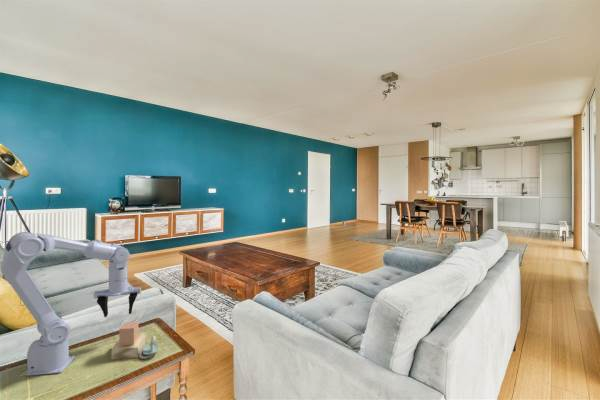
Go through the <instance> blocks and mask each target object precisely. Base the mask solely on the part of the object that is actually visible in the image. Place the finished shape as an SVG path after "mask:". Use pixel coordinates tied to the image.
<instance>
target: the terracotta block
mask: <svg viewBox="0 0 600 400" xmlns="http://www.w3.org/2000/svg"><path fill="white" fill-rule="evenodd" d="M118 331H119V332H118V333H119V338H118V340H119V346H126V345H134V344H135V342H136V341H137V339H138V338H139V336H138V335H139V321H128V322H123V324H122V325H121V326H120V327H119V330H118Z"/></svg>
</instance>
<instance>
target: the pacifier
mask: <svg viewBox="0 0 600 400" xmlns="http://www.w3.org/2000/svg"><path fill="white" fill-rule="evenodd" d="M158 349H159V343H158V342H157V337H156V336H155V335H152V336H151V338H150V342H148V343H147V344H145V345H144V347H143V349H142V351H141V352H140V353H139V356H138V357H139V358H140V359H141V360H147V359H149V358H150V357H153V356H155V354H157V353H159V350H158ZM144 355H145V356H144Z"/></svg>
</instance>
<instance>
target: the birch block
mask: <svg viewBox="0 0 600 400" xmlns="http://www.w3.org/2000/svg"><path fill="white" fill-rule="evenodd" d="M138 336H139V338H138V339H137V341H136V342H135V344H134V345H126V346H119V339H118V340H117V341H116V343H115V344H114V346H113V347H112V348H111V360H120V359H133V358H138V357H139V353H140V352H141V351H142V350H143V349H144V347H145V346H146V334H138Z"/></svg>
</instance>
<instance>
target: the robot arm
mask: <svg viewBox="0 0 600 400" xmlns="http://www.w3.org/2000/svg"><path fill="white" fill-rule="evenodd" d="M35 234H36V235H37V236H36V235H35ZM35 234H34V233H32V232H30V231H21V232H18V233H15V234H14V235H12V236H11V237H10V238H9V239H8V241H7V243H5V246H4V252H3V256H2V262H1V267H0V271H1V274H2V275H3V276H4V278H5V280H7V282H8V284H10V286H11V288H12V289H13V291H14V292H15V293H16V295H17V296H18V297H19V299H20V300H21V302H22V303H23V304H24V306H25V307H26V309H27V310H28V311H29V314H30V315H31V316H32V318H33V319H34V320H35V322H36V327H37V328H36V329H37V332H38V333H40V335H41V336H40V337H39V339H36V340H34V341H33V342H31V344H30V345H29V346H28V350H27V354H26V356H27V357H26V359H27V360H26V362H27V365H26V366H27V372H26V374H25V376H28V377H29V376H38V375H51V374H60V373H62V372H63V371H64V370H66V368H67V367H68V366H69V365H70V364H71V362H72V361H73V360H74V359H75V358H76V356H75V355H70V352H69V350H70V346H69V335H70V332H71V328H70V325H69V324H68V323H66V322H65V320H64V318H63V317H62V316H61V315H59V314H57V313H55V311H54V310H53V308H52V306H51V304H49V302H48V300H47V299H46V298H45V296H44V294H43V293H42V292H41V290H40V288H39V287H38V285H37V284H36V282H35V281H34V280H33V278H32V276H31V275H30V274H29V272H28V271H27V269H28V268H29V266H30V264H31V262H32V261H34V260H35V259H36V258H37V257H39V255H40V254H41V253H42V252H45V253H48V252H50V251H53V250H55V249H57V250H64V251H71V252H78V253H83V255H84V257H86V258H90V259H96V260H102V261H108V289H103V290H96V291H95V292H94V293H93V299H95V300H96V303H97V305H99V307H100V309H101V310H102V314H103V317H104V318H107V317H108V315H109V308H108V307H109V306H108V305H109V304H108V303H109V301H108V300H109V297H118V296H126V295H129V296H128V315H132V313H133V307H134V304H135V301H136V299H137V297H138V295H140V294H141V293H142V287H141V286H137V287H135V286H128V261H129V259H130V258H131V253H130V251H129V249H127V248H126V247H123V246H122V245H119V244H117V243H114V242H112V243H108V242H107V243H106V242H102V240H101V239H96V240H90V241H88V242H82V241H78V240H74V239H69V238H65V237H61V236H57V235H53V234H45V233H40V232H39V233H38V232H37V233H35Z"/></svg>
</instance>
